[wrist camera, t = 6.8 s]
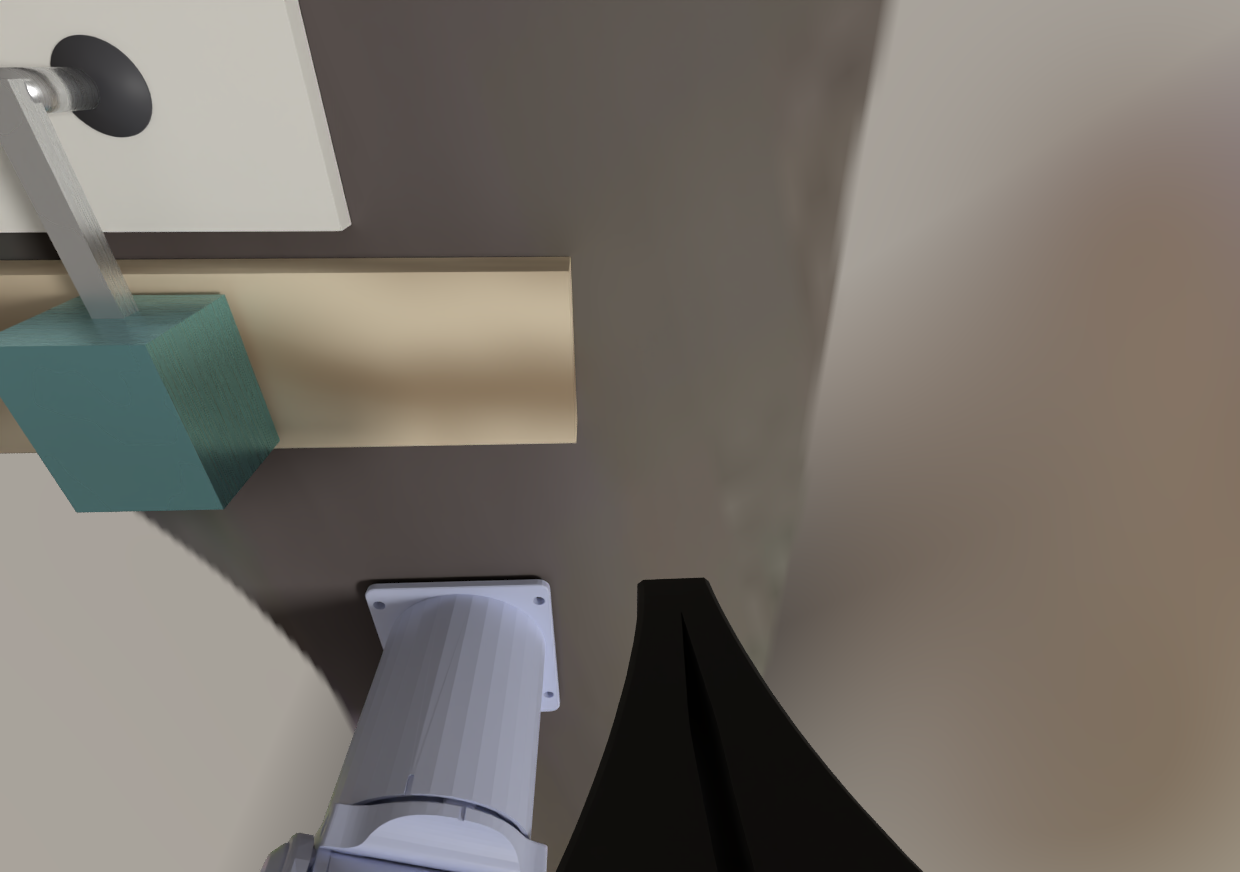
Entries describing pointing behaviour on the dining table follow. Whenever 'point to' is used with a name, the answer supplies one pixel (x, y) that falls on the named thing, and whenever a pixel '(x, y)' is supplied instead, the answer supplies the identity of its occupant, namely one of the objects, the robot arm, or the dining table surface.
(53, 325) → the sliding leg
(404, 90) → the dining table surface
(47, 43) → the bolt plate
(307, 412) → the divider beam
